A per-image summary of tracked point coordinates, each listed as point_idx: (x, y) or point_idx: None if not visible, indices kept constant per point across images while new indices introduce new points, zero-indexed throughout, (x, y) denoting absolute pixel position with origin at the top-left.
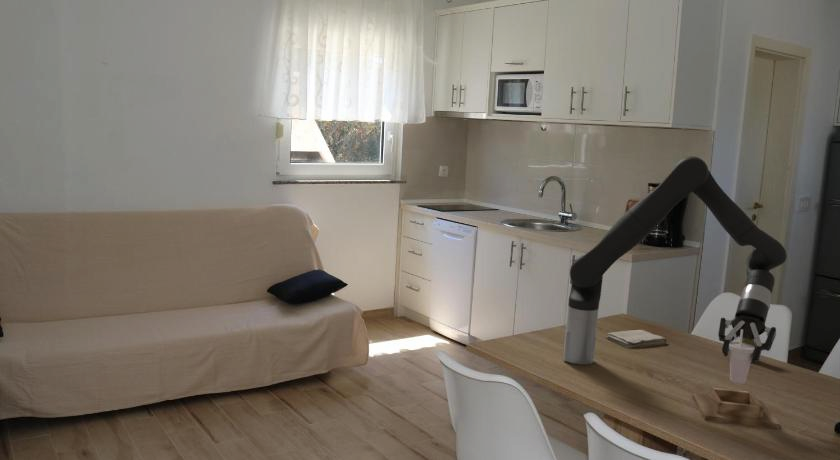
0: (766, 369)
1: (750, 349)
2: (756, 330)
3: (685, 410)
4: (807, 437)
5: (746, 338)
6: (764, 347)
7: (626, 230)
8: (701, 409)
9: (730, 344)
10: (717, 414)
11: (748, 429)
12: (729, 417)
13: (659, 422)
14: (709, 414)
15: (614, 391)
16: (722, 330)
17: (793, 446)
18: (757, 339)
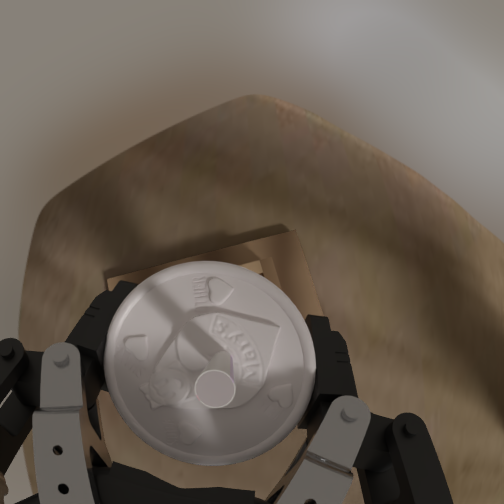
0: None
1: (137, 290)
2: (44, 488)
3: (345, 276)
4: (62, 260)
5: None
6: (39, 354)
7: None
8: (310, 275)
9: (304, 349)
10: (265, 257)
11: (184, 232)
12: (233, 253)
13: (373, 170)
14: (286, 244)
15: (479, 298)
16: (415, 471)
17: (100, 190)
18: (61, 405)
